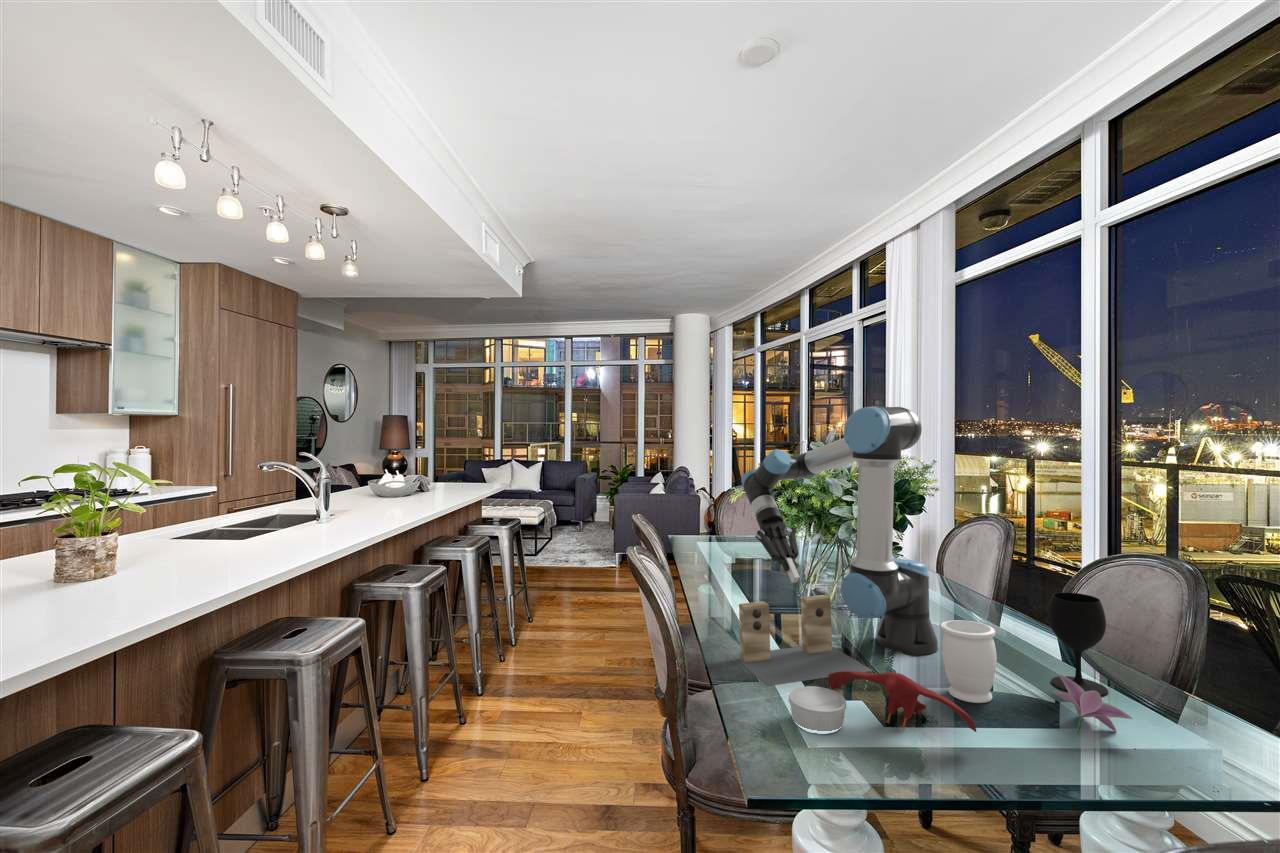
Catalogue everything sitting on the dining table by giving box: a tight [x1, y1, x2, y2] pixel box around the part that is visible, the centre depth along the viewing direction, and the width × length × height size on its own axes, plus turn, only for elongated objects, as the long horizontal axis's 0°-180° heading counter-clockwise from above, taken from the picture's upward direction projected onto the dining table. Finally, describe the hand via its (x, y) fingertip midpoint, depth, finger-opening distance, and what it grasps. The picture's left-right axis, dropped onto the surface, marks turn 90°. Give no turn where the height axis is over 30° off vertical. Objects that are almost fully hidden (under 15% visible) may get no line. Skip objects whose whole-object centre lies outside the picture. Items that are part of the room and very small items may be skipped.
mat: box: [731, 645, 874, 687], centre depth 149 cm, size 28×20×1 cm
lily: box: [1052, 673, 1133, 736], centre depth 114 cm, size 12×12×10 cm
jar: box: [941, 619, 997, 704], centre depth 130 cm, size 11×10×15 cm
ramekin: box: [788, 685, 847, 731], centre depth 119 cm, size 11×11×5 cm
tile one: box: [800, 594, 833, 654], centre depth 157 cm, size 3×7×14 cm, turn 105°
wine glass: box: [1047, 592, 1109, 698], centre depth 133 cm, size 10×10×20 cm
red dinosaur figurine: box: [827, 671, 978, 733], centre depth 118 cm, size 28×9×15 cm
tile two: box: [738, 601, 771, 663], centre depth 152 cm, size 3×7×14 cm, turn 105°
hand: (795, 579), depth 167 cm, fingers closed
